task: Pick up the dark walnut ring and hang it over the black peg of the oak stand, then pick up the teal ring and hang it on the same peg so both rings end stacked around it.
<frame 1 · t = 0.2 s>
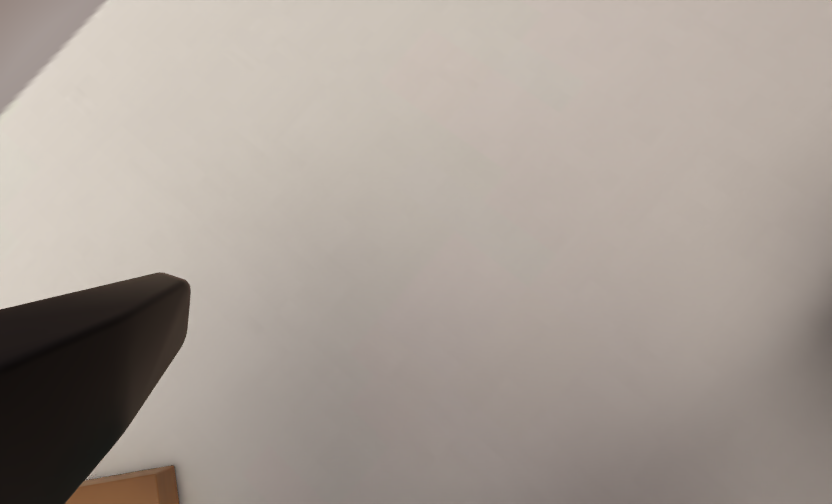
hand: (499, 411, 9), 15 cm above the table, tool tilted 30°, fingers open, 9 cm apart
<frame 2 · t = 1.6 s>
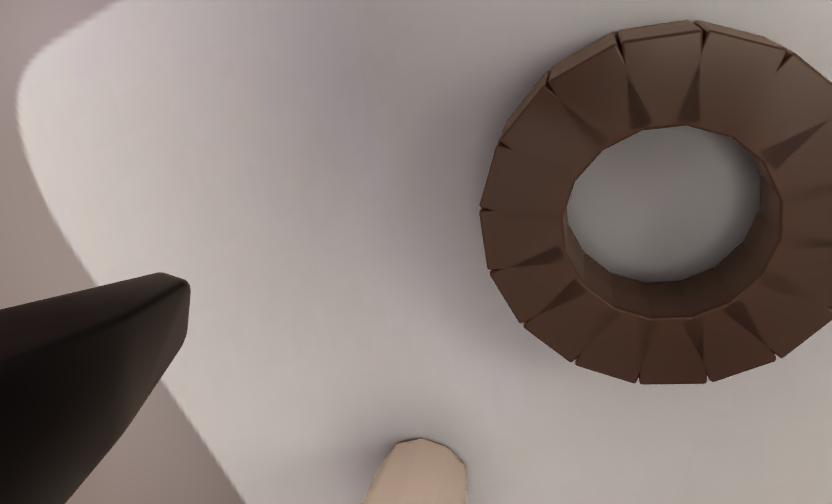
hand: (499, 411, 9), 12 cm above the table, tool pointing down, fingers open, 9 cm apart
walnut ring: (659, 199, 19), on the table
milkshake: (427, 477, 26), on the table
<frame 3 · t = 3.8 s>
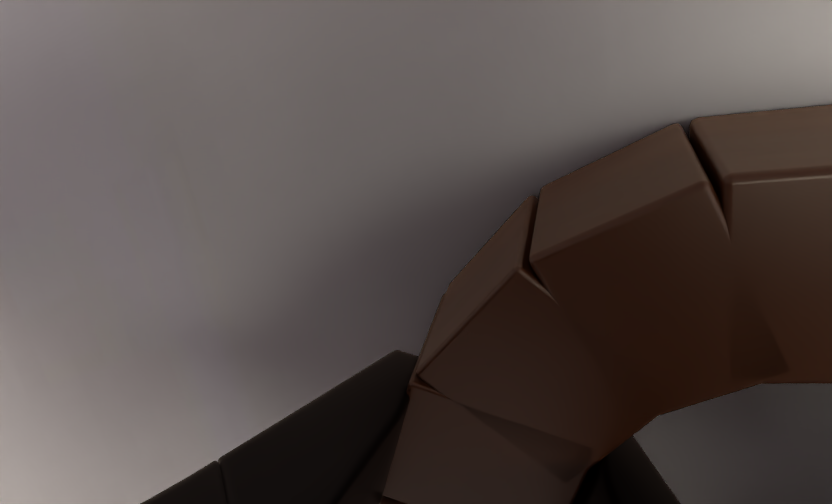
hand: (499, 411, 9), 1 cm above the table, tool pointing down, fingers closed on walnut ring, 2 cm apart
walnut ring: (757, 450, 9), on the table, touching gripper
when the fingers open (6 cm above the table, at t = 7.9 s): walnut ring drops 3 cm, resting on peg stand.
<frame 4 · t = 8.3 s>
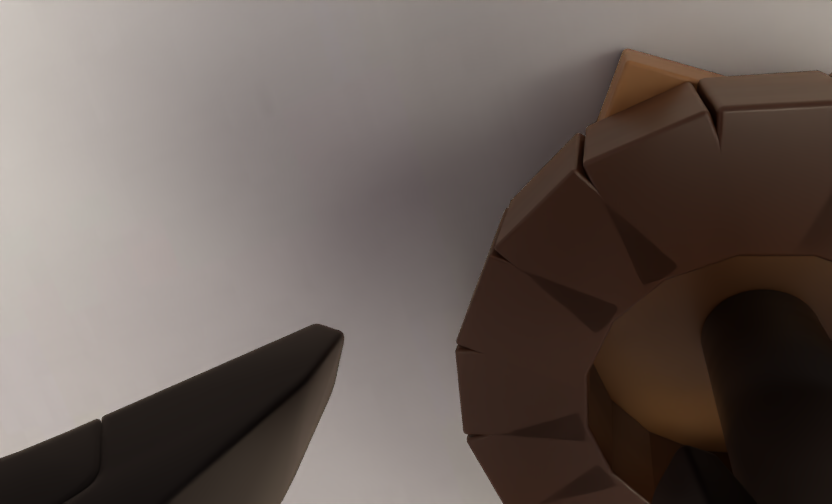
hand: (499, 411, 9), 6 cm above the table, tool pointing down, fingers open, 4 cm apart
peg stand: (744, 298, 14), on the table
walnut ring: (735, 337, 13), point 1 cm above the table, touching peg stand
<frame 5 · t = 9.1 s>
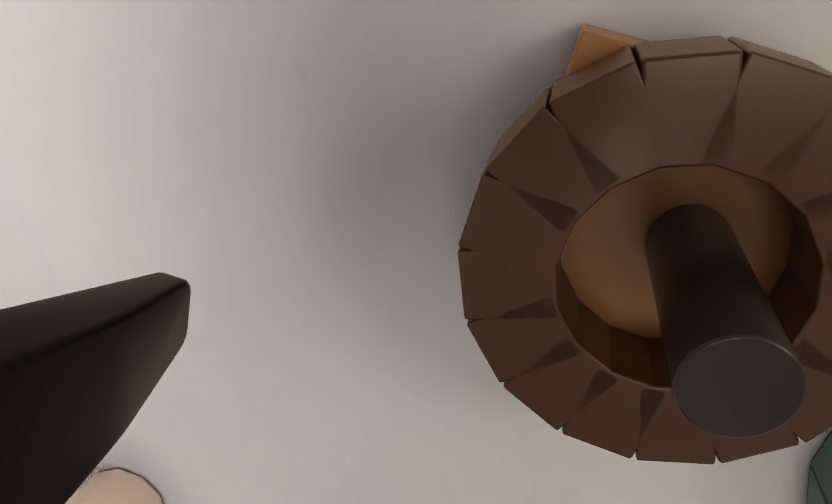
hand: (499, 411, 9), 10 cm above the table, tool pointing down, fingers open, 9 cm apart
peg stand: (680, 220, 18), on the table
walnut ring: (670, 244, 16), point 1 cm above the table, touching peg stand
milkshake: (133, 503, 27), on the table
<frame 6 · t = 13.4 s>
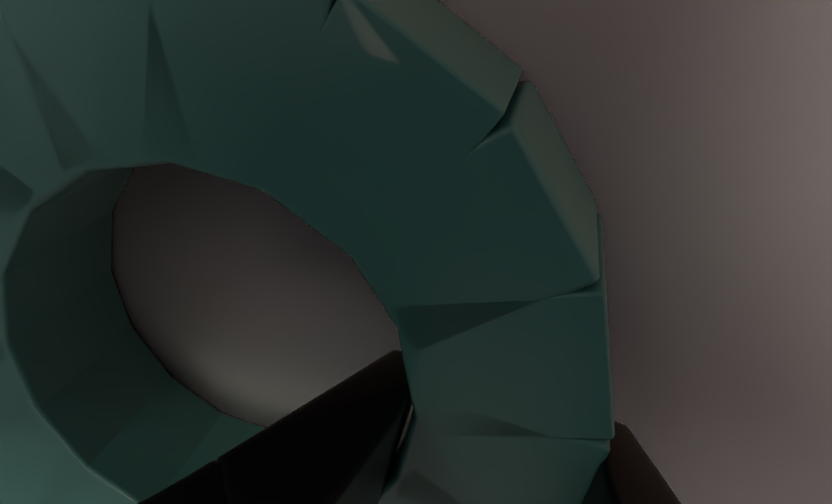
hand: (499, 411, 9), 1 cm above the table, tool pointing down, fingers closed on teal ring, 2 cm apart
teal ring: (271, 291, 10), on the table, touching gripper
when the fingers open (6 cm above the table, at t = 17.6 s): teal ring drops 1 cm, resting on walnut ring.
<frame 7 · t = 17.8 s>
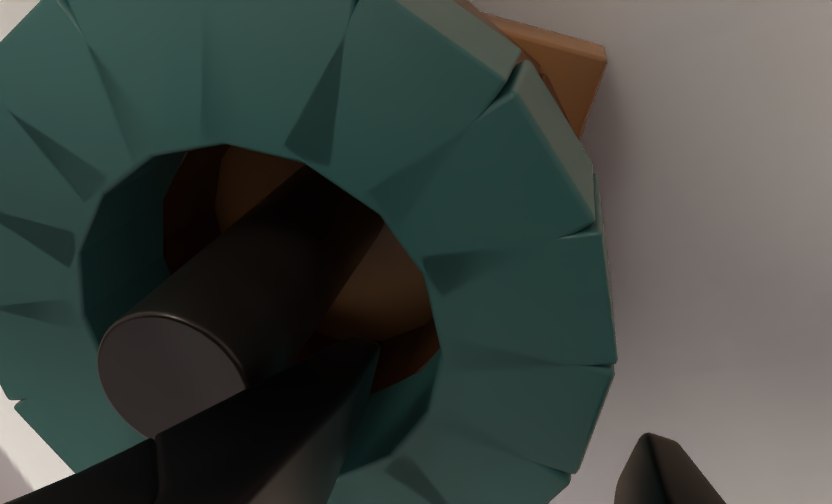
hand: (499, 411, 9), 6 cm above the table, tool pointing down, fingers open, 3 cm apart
peg stand: (358, 182, 15), on the table
walnut ring: (340, 225, 13), point 1 cm above the table, touching peg stand, teal ring
teal ring: (307, 264, 11), point 4 cm above the table, touching walnut ring
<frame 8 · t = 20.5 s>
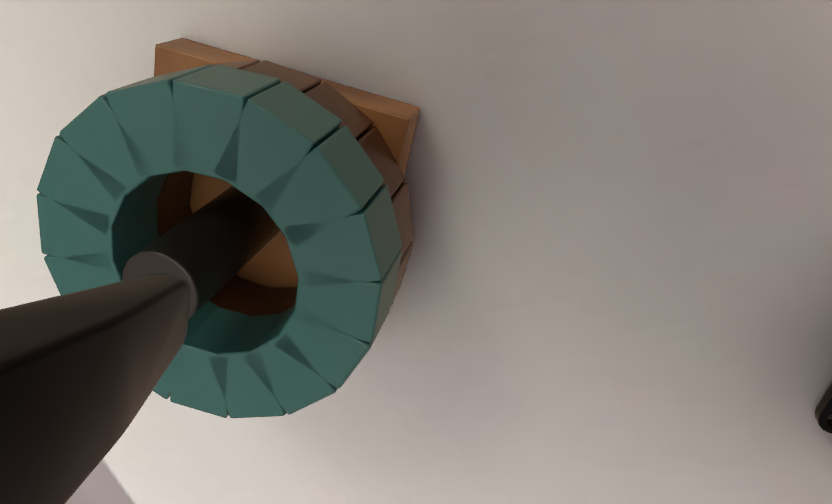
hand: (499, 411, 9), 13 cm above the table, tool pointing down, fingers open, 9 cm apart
peg stand: (281, 187, 23), on the table
walnut ring: (266, 214, 22), point 1 cm above the table, touching peg stand, teal ring
teal ring: (239, 235, 20), point 4 cm above the table, touching walnut ring
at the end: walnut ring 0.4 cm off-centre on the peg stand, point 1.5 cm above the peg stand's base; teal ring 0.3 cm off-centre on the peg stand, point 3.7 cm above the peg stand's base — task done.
